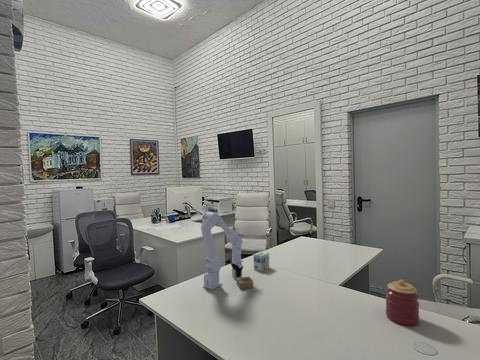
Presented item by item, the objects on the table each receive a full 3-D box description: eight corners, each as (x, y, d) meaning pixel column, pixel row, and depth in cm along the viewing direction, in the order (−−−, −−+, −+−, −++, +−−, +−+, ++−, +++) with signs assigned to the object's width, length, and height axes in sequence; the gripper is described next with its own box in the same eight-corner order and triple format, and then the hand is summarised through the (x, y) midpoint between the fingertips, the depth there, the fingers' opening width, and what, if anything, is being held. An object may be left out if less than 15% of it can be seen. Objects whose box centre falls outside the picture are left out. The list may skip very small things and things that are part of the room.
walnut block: (253, 288, 155) (253, 281, 155) (240, 290, 153) (240, 283, 153) (249, 283, 163) (249, 276, 163) (236, 284, 161) (236, 278, 160)
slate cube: (241, 278, 169) (241, 270, 169) (234, 279, 168) (234, 271, 167) (239, 275, 174) (239, 268, 174) (232, 276, 172) (232, 269, 172)
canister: (403, 329, 111) (402, 287, 111) (379, 313, 124) (378, 276, 123) (426, 323, 115) (426, 283, 115) (401, 309, 127) (400, 273, 127)
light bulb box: (261, 271, 181) (261, 256, 181) (253, 269, 185) (253, 254, 185) (269, 267, 189) (269, 252, 189) (261, 265, 193) (261, 250, 193)
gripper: (246, 256, 165) (246, 278, 165) (238, 250, 179) (239, 270, 179) (235, 258, 163) (236, 280, 163) (228, 252, 176) (229, 272, 176)
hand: (236, 275), depth 171 cm, fingers closed on slate cube, 5 cm apart
